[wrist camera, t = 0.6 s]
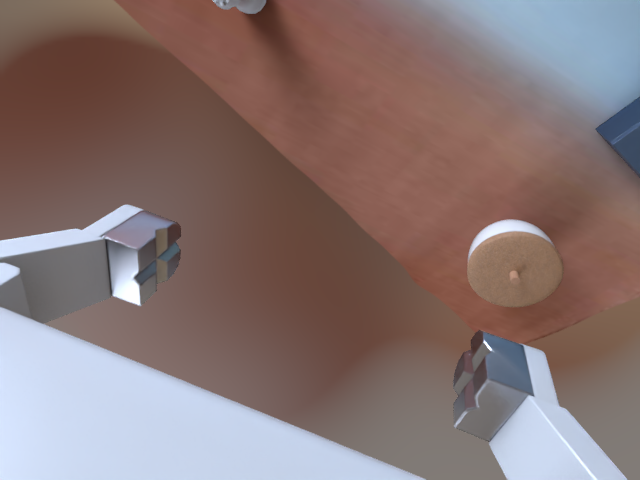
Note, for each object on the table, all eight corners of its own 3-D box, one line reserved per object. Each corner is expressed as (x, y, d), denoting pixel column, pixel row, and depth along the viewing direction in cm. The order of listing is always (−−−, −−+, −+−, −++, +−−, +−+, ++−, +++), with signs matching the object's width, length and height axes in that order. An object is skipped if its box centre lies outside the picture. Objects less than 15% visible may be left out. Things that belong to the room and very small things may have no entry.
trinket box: (568, 224, 52) (588, 264, 44) (522, 284, 58) (533, 328, 50) (489, 194, 53) (495, 228, 45) (452, 256, 59) (452, 295, 51)
